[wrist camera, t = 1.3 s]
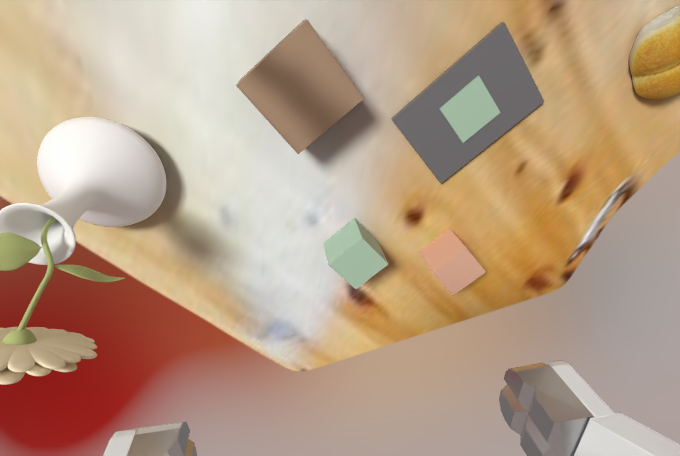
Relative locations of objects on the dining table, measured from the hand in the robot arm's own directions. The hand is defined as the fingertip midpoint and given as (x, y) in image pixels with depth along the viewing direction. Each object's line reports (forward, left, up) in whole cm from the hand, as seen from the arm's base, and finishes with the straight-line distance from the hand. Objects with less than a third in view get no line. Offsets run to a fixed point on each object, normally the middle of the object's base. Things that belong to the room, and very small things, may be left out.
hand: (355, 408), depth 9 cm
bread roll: (-34, +22, -34) cm, 53 cm away
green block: (+6, +16, -34) cm, 37 cm away
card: (-14, +12, -33) cm, 38 cm away
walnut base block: (-2, -2, -34) cm, 34 cm away
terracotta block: (-2, +26, -34) cm, 42 cm away
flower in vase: (+18, -8, -34) cm, 39 cm away
